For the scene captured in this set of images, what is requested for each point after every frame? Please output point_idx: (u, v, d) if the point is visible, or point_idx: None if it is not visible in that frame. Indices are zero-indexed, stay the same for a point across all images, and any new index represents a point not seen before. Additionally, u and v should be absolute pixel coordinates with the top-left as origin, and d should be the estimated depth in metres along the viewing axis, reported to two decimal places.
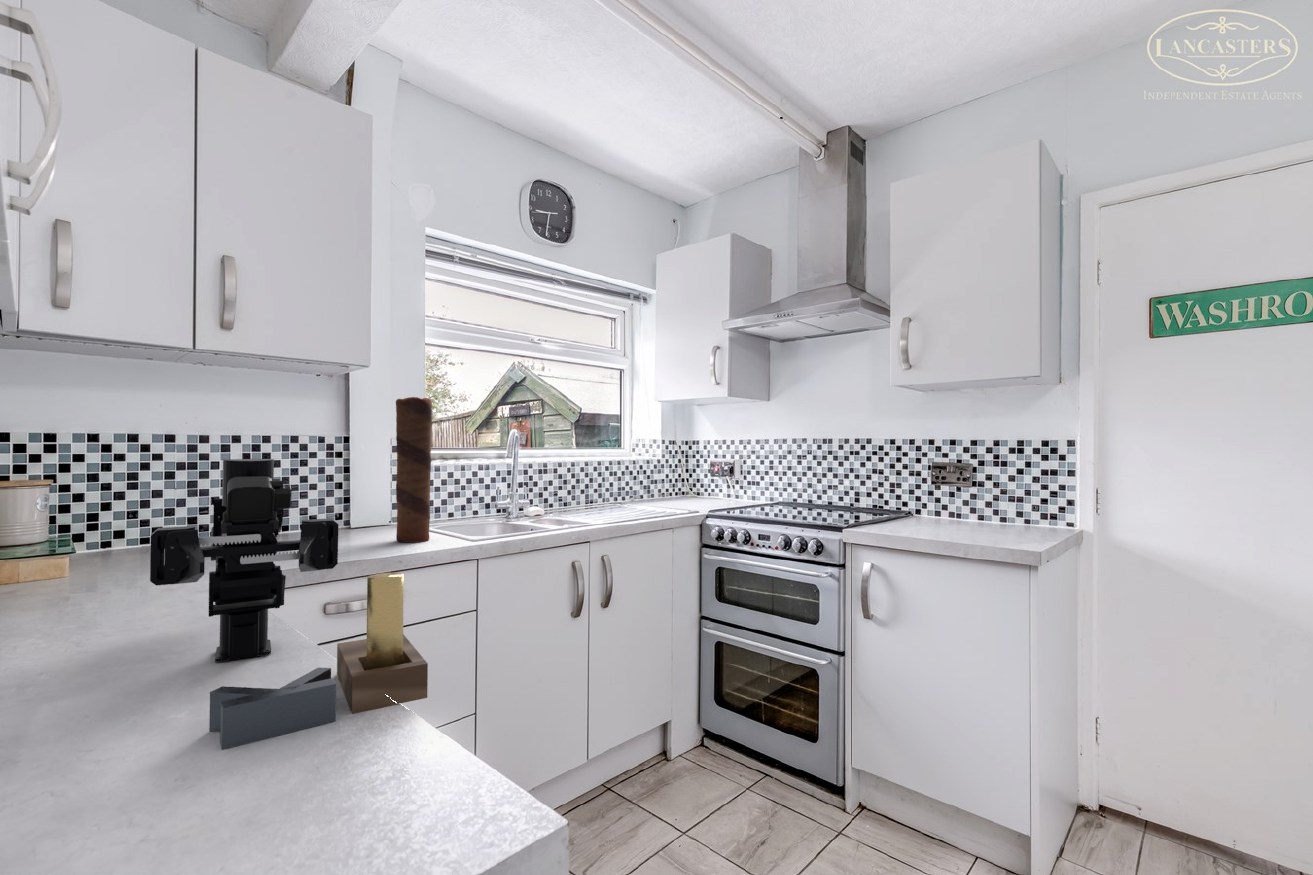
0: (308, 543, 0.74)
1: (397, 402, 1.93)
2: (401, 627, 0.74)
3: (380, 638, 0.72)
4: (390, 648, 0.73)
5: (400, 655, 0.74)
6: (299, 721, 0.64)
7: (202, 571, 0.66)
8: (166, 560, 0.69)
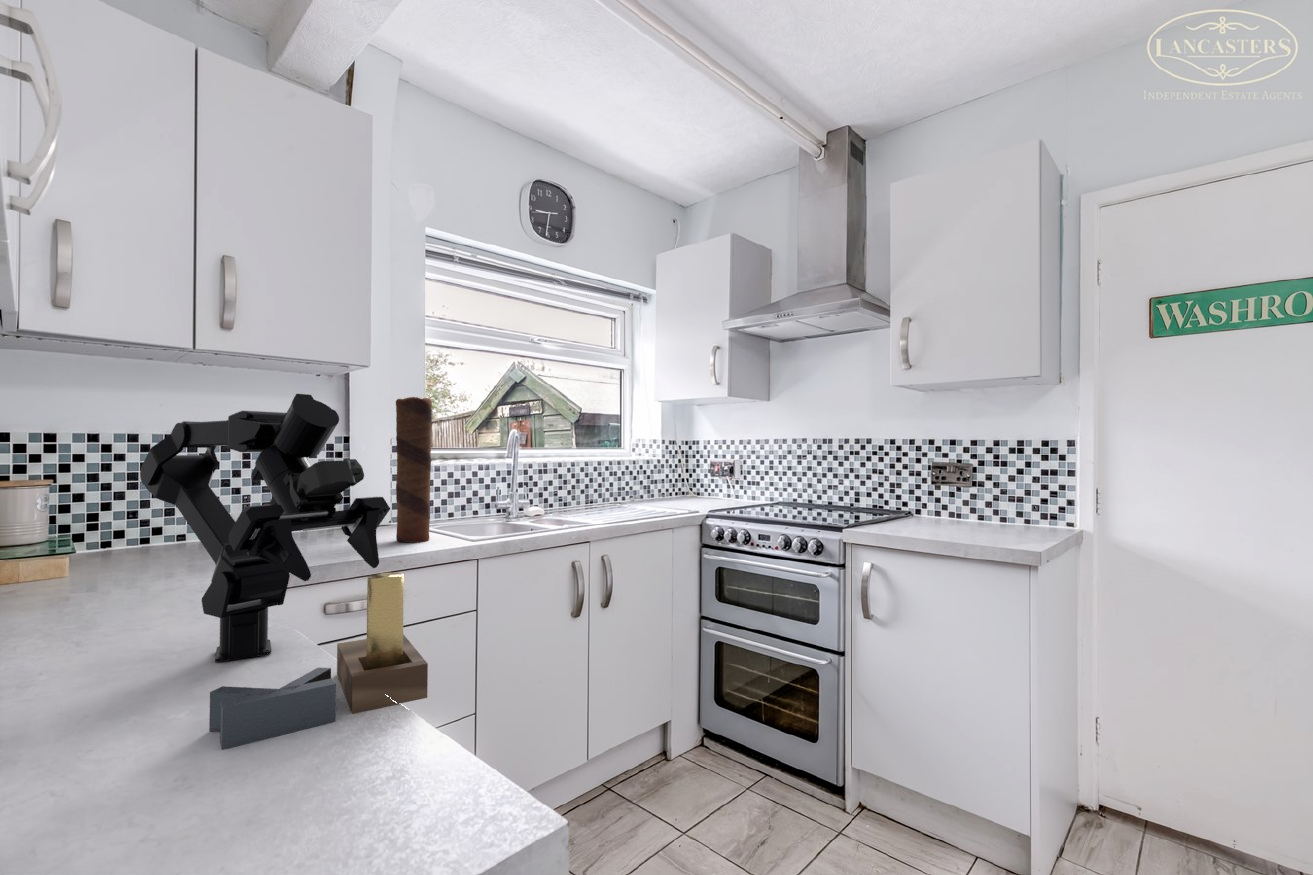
0: (375, 540, 0.83)
1: (397, 402, 1.93)
2: (401, 627, 0.74)
3: (380, 638, 0.72)
4: (390, 647, 0.73)
5: (400, 655, 0.74)
6: (299, 721, 0.64)
7: (307, 580, 0.74)
8: (257, 542, 0.73)
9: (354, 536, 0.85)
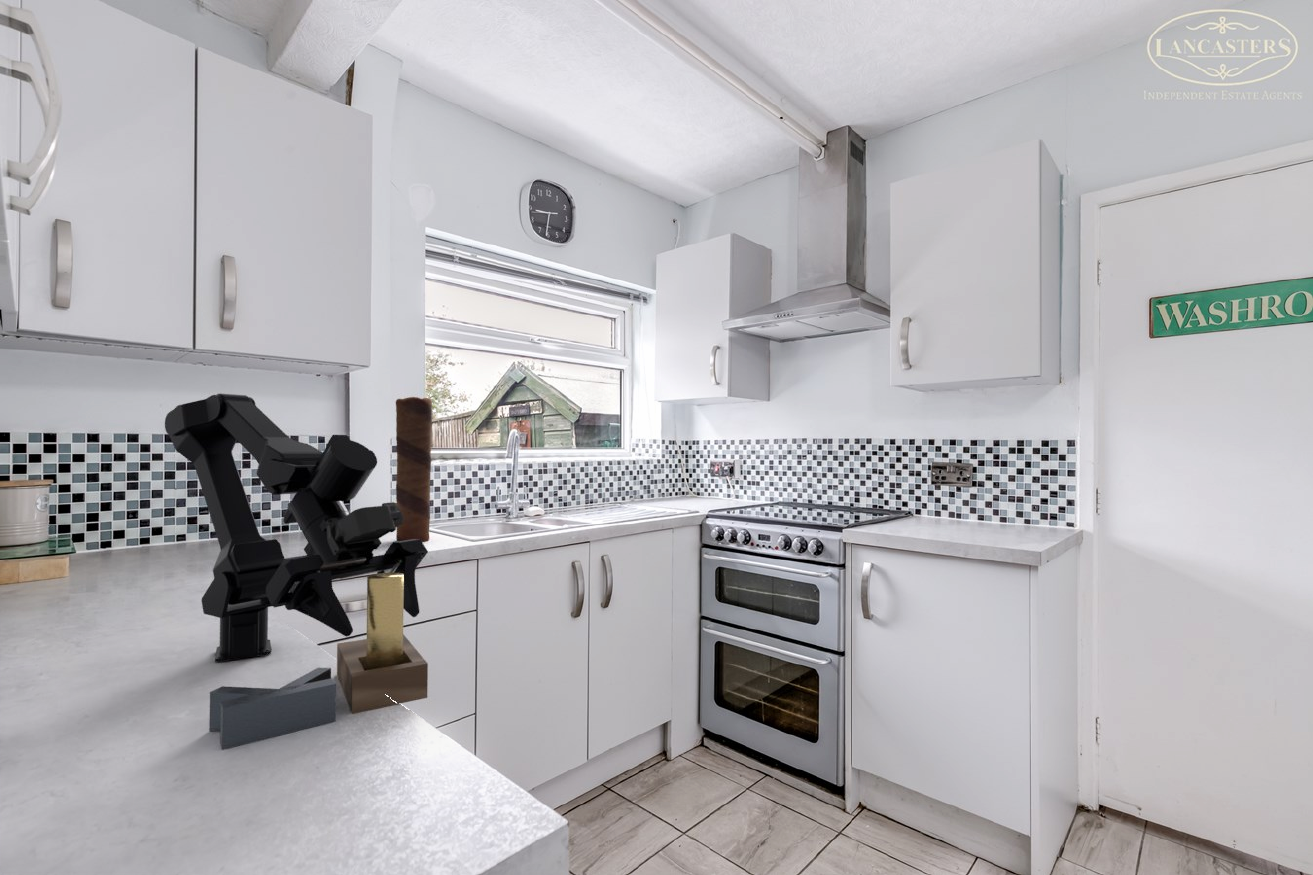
0: (414, 587, 0.80)
1: (397, 402, 1.93)
2: (401, 627, 0.74)
3: (380, 638, 0.72)
4: (390, 647, 0.73)
5: (400, 655, 0.74)
6: (299, 721, 0.64)
7: (348, 635, 0.70)
8: (296, 596, 0.70)
9: None
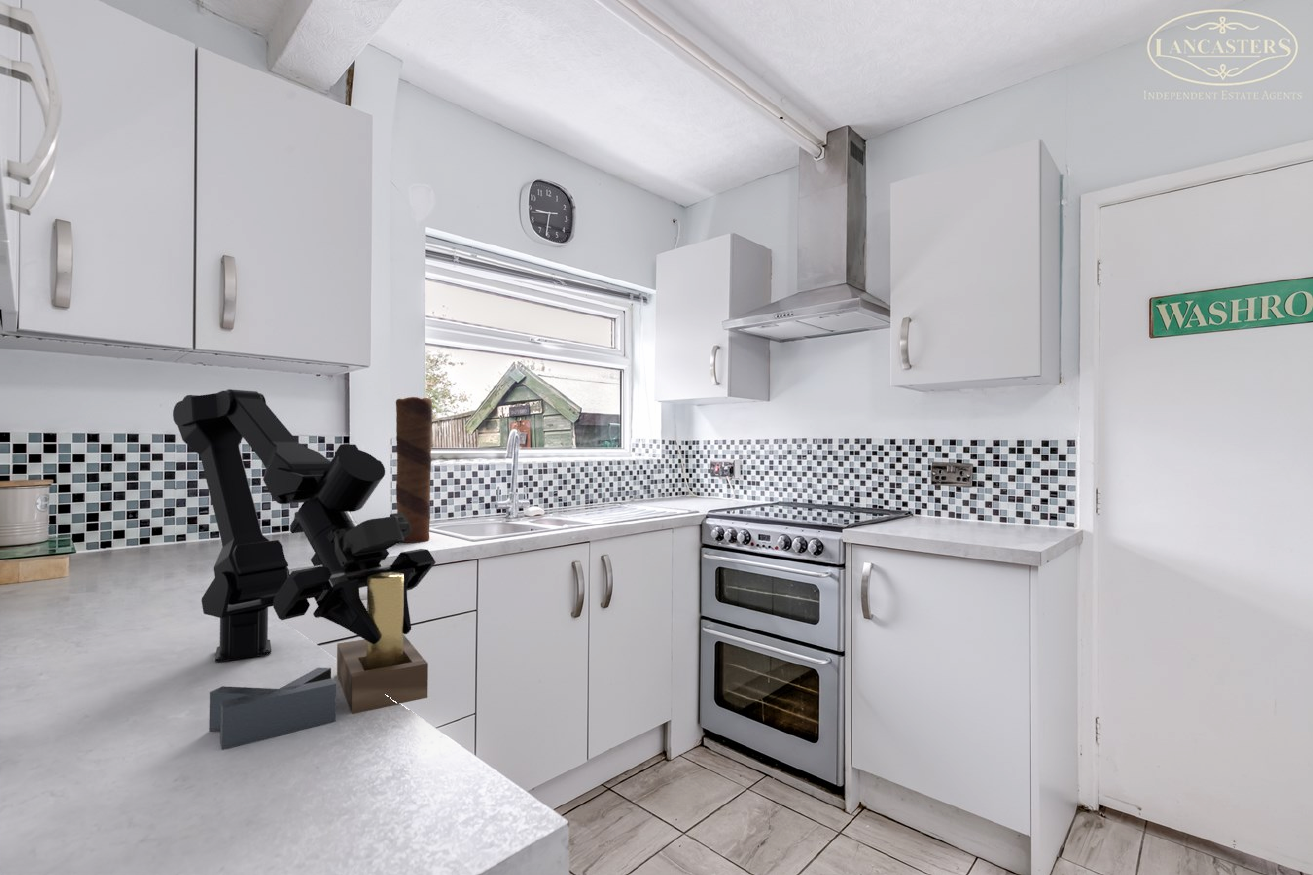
0: (406, 602, 0.77)
1: (397, 402, 1.93)
2: (401, 627, 0.74)
3: (380, 638, 0.72)
4: (390, 647, 0.73)
5: (400, 655, 0.74)
6: (299, 721, 0.64)
7: (375, 643, 0.72)
8: (324, 604, 0.71)
9: None
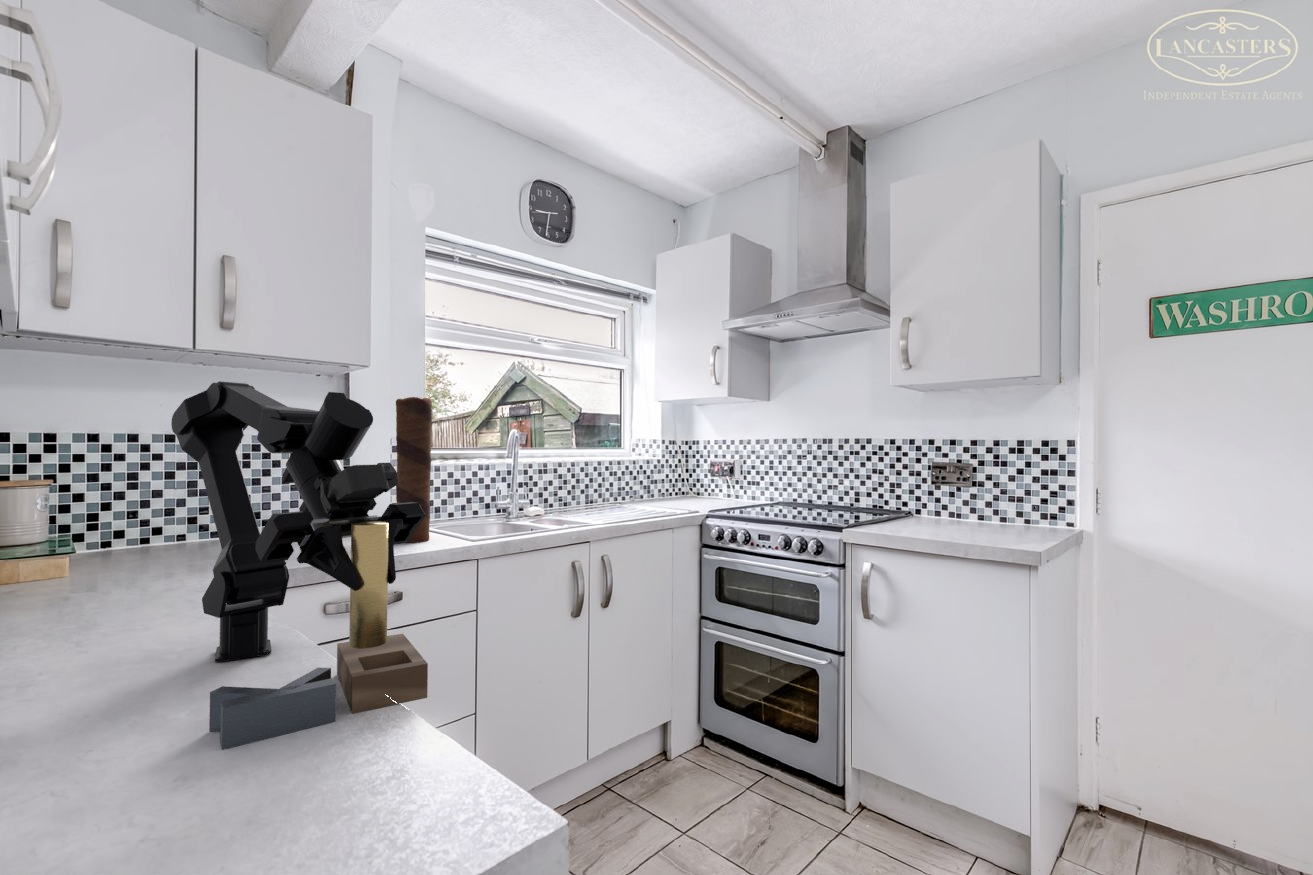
0: (392, 552, 0.76)
1: (397, 402, 1.93)
2: (385, 576, 0.73)
3: (363, 585, 0.71)
4: (373, 595, 0.71)
5: (384, 604, 0.73)
6: (299, 721, 0.64)
7: (357, 590, 0.71)
8: (307, 549, 0.70)
9: None
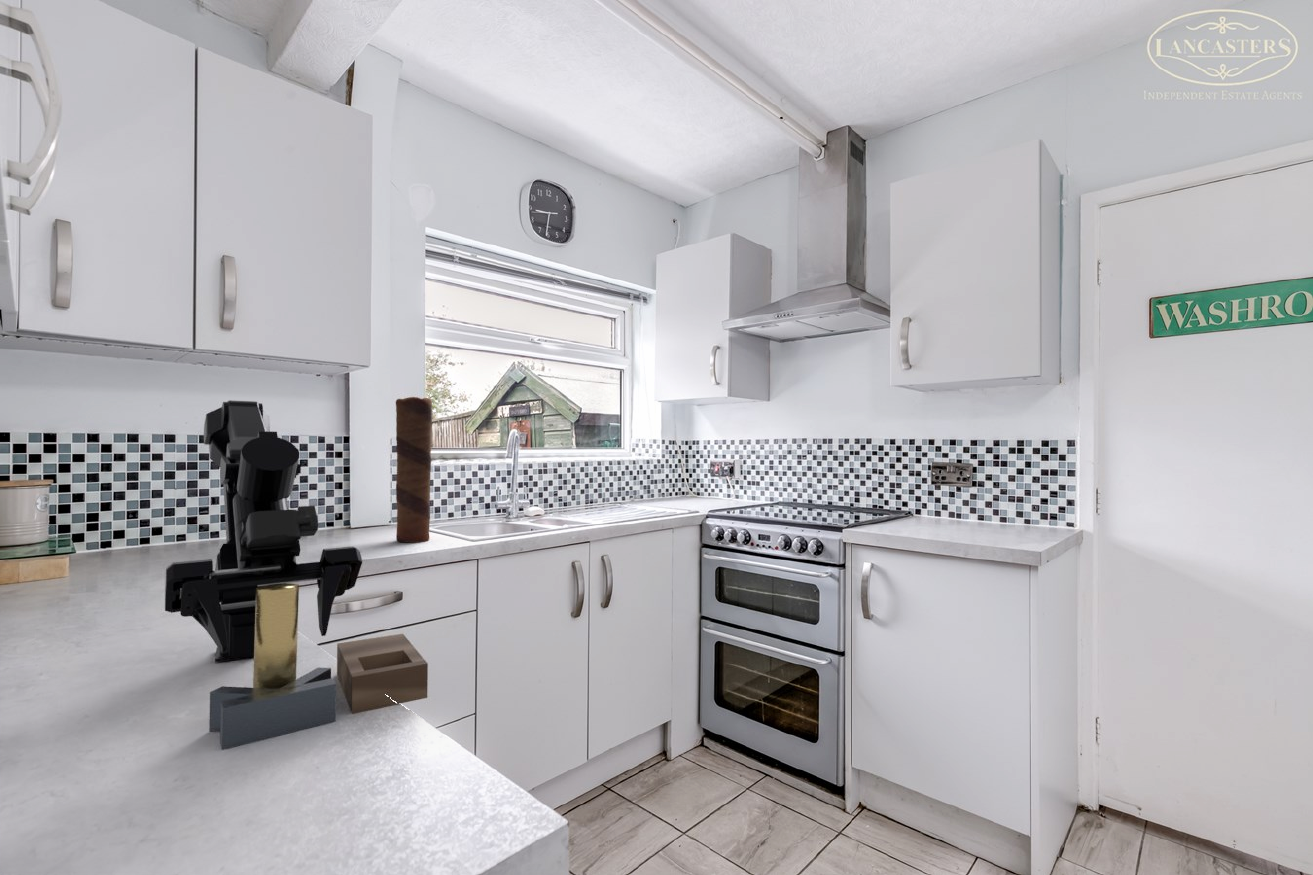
0: (331, 601, 0.71)
1: (397, 402, 1.93)
2: (288, 645, 0.67)
3: (260, 655, 0.66)
4: (270, 667, 0.66)
5: (286, 676, 0.67)
6: (299, 721, 0.64)
7: (224, 652, 0.64)
8: (182, 603, 0.65)
9: (319, 593, 0.74)
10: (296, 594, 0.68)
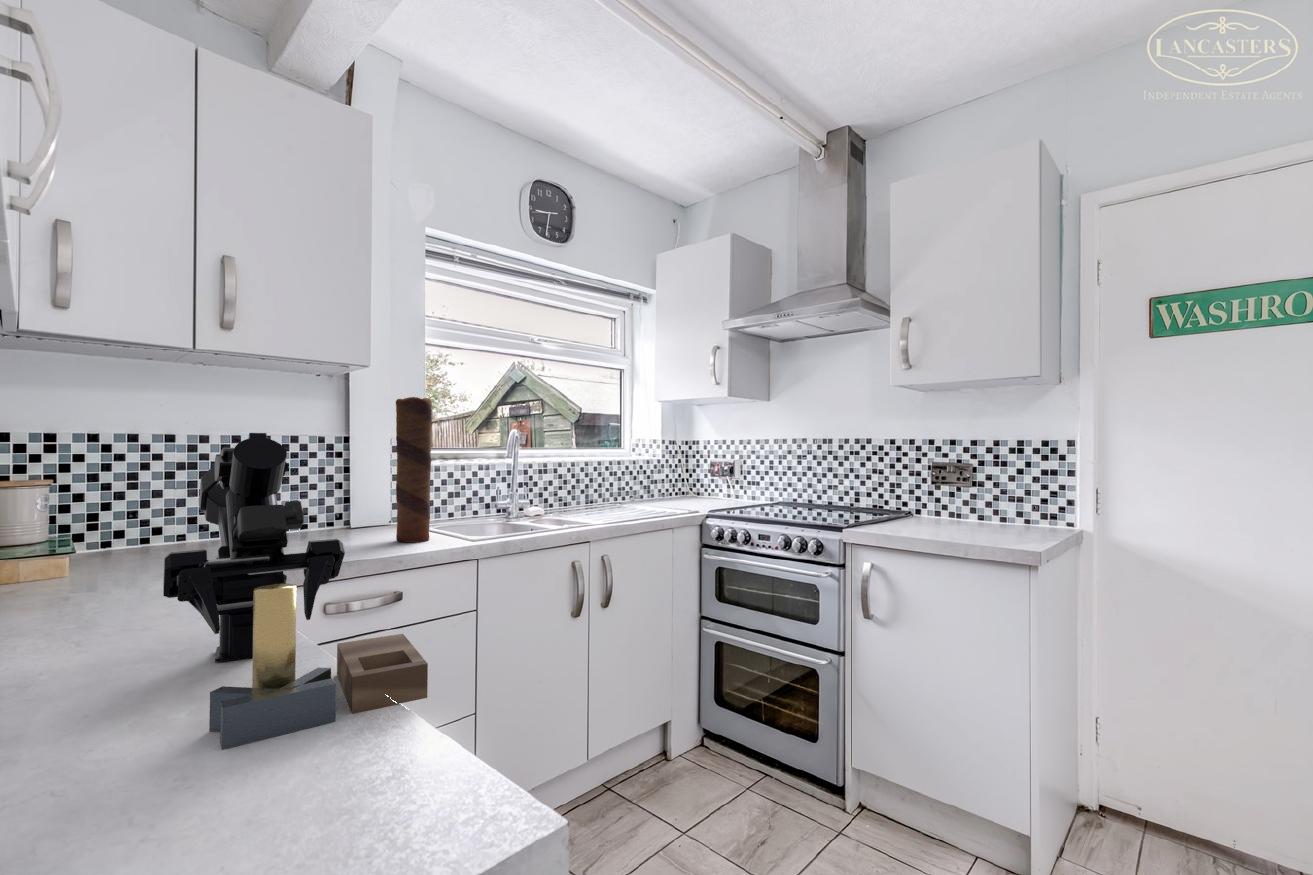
0: (315, 589, 0.78)
1: (397, 402, 1.93)
2: (286, 646, 0.67)
3: (259, 656, 0.66)
4: (269, 668, 0.66)
5: (285, 677, 0.67)
6: (299, 721, 0.64)
7: (217, 633, 0.71)
8: (179, 589, 0.72)
9: (305, 581, 0.81)
10: (294, 594, 0.68)
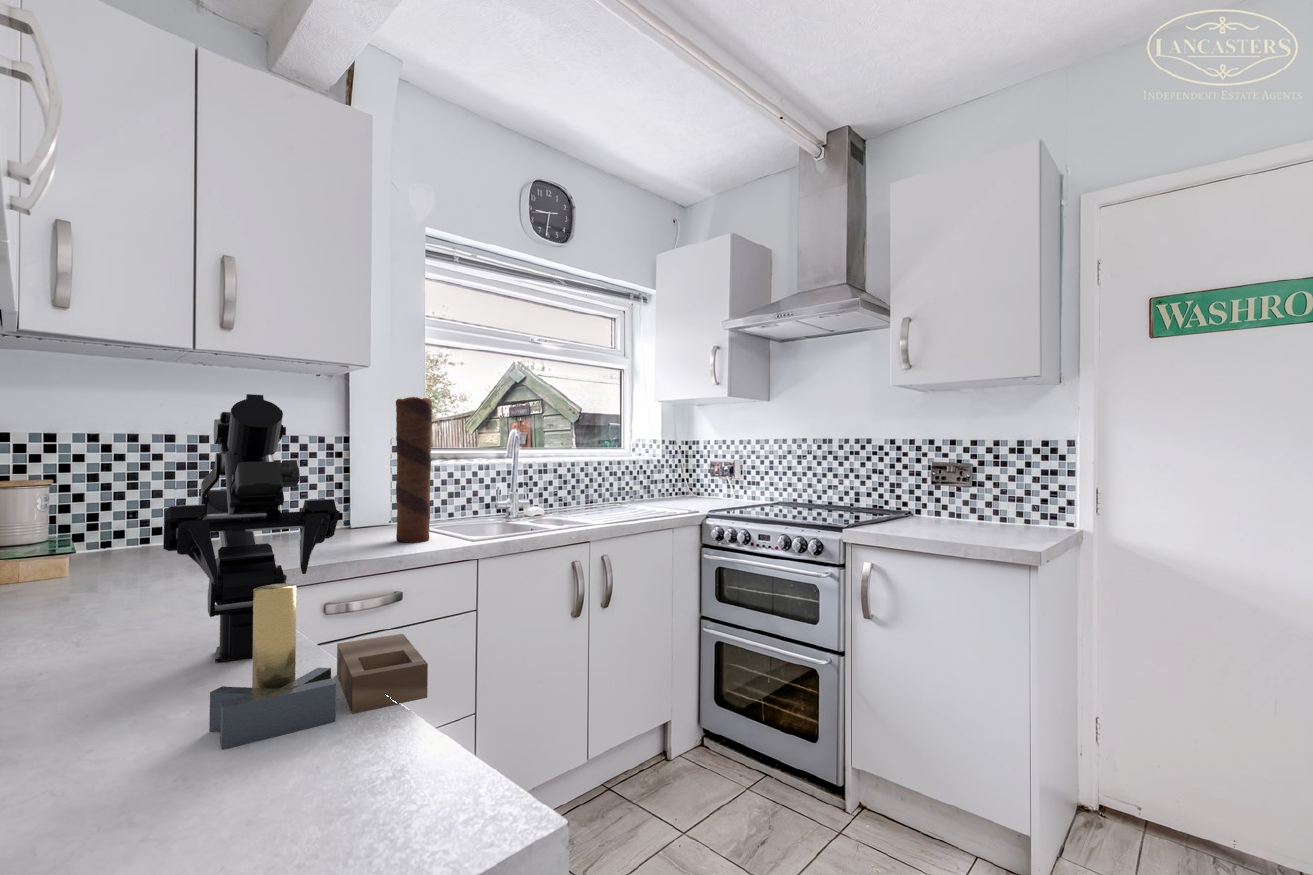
0: (311, 544, 0.80)
1: (397, 402, 1.93)
2: (286, 646, 0.67)
3: (259, 656, 0.66)
4: (269, 667, 0.66)
5: (285, 676, 0.67)
6: (299, 721, 0.64)
7: (215, 583, 0.73)
8: (179, 541, 0.74)
9: (301, 539, 0.83)
10: (294, 594, 0.68)
